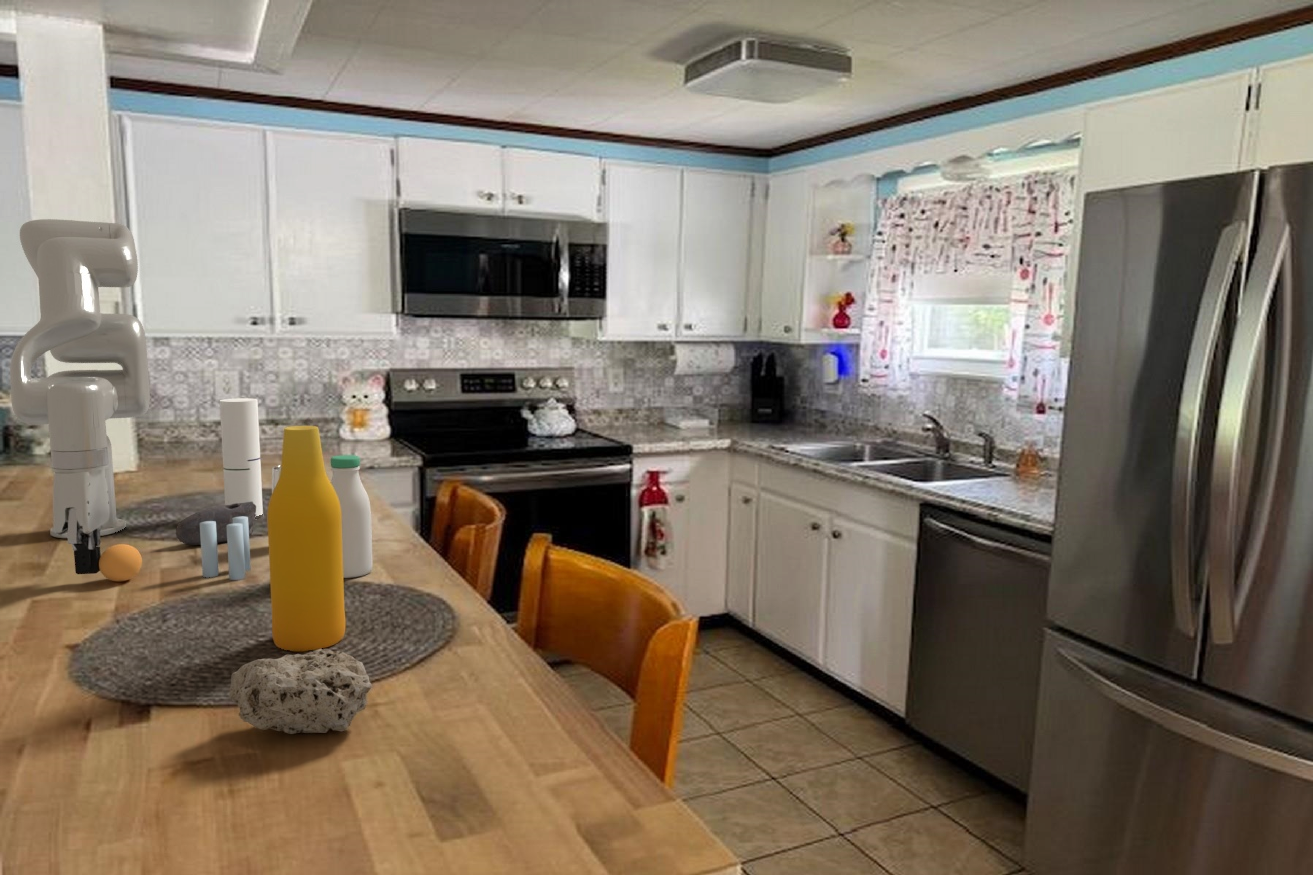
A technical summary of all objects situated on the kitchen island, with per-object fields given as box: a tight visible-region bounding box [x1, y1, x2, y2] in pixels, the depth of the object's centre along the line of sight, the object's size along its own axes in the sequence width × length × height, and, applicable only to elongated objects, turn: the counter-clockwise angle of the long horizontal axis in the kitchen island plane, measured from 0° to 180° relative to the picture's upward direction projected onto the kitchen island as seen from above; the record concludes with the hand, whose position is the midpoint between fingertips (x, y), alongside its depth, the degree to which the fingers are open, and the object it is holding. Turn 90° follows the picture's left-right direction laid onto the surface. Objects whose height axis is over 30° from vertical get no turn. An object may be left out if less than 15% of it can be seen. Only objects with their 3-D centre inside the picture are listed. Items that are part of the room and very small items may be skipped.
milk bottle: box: [330, 454, 374, 579], centre depth 149 cm, size 8×8×20 cm
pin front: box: [200, 521, 220, 578], centre depth 146 cm, size 2×2×9 cm
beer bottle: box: [266, 425, 347, 652], centre depth 118 cm, size 9×9×29 cm
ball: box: [99, 543, 143, 583], centre depth 143 cm, size 6×6×6 cm
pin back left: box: [226, 523, 246, 581], centre depth 145 cm, size 2×2×9 cm
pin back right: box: [232, 516, 252, 572], centre depth 150 cm, size 2×2×9 cm
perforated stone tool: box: [175, 502, 256, 546], centre depth 168 cm, size 15×5×7 cm, turn 133°
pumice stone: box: [228, 648, 373, 735], centre depth 95 cm, size 14×12×8 cm
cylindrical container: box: [219, 397, 264, 517], centre depth 186 cm, size 7×7×25 cm
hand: (88, 572), depth 142 cm, fingers closed
